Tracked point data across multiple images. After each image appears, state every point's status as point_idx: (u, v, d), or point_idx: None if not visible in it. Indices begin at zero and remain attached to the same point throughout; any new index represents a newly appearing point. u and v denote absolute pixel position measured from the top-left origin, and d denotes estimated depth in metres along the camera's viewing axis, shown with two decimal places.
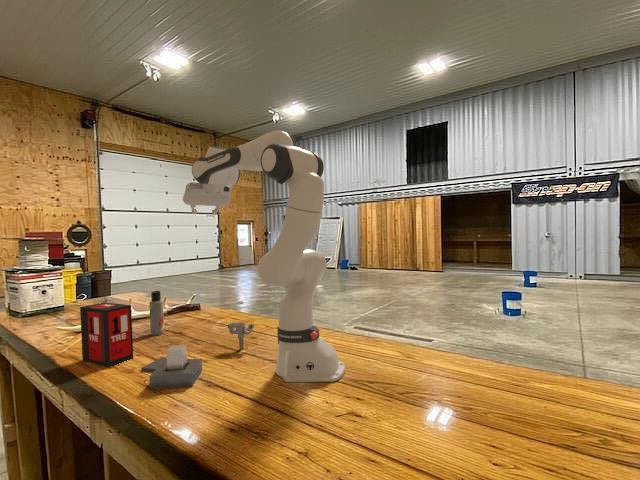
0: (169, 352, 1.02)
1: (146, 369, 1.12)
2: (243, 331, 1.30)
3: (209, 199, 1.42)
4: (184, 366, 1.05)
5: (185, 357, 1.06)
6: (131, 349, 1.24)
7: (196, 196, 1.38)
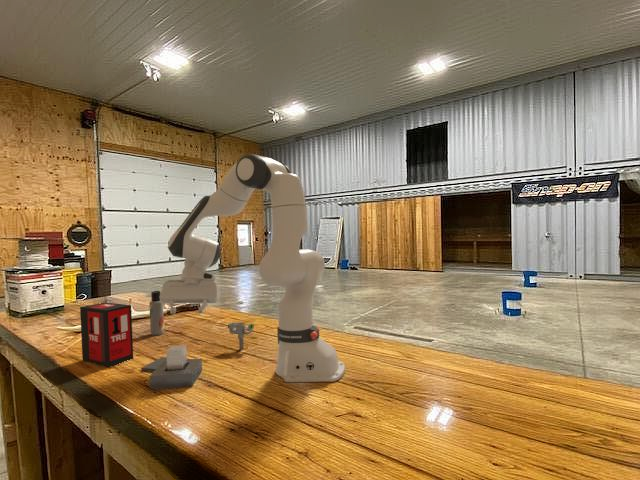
0: (169, 352, 1.02)
1: (146, 369, 1.12)
2: (243, 331, 1.30)
3: (189, 291, 1.22)
4: (184, 366, 1.05)
5: (185, 357, 1.06)
6: (131, 349, 1.24)
7: (173, 289, 1.22)
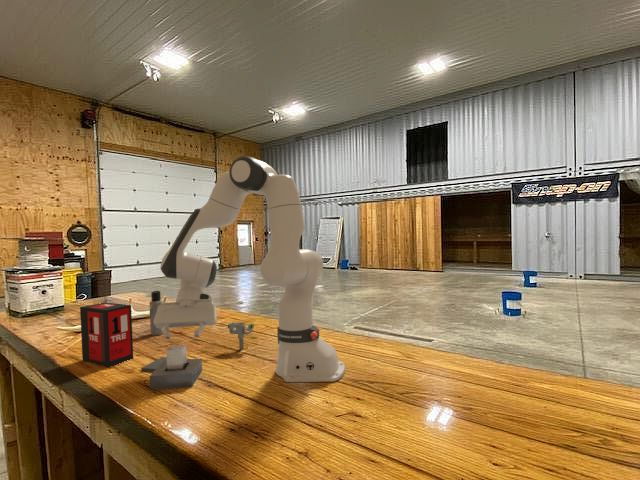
0: (169, 352, 1.02)
1: (146, 369, 1.12)
2: (243, 331, 1.30)
3: (184, 314, 1.14)
4: (184, 366, 1.05)
5: (185, 357, 1.06)
6: (131, 349, 1.24)
7: (167, 312, 1.15)
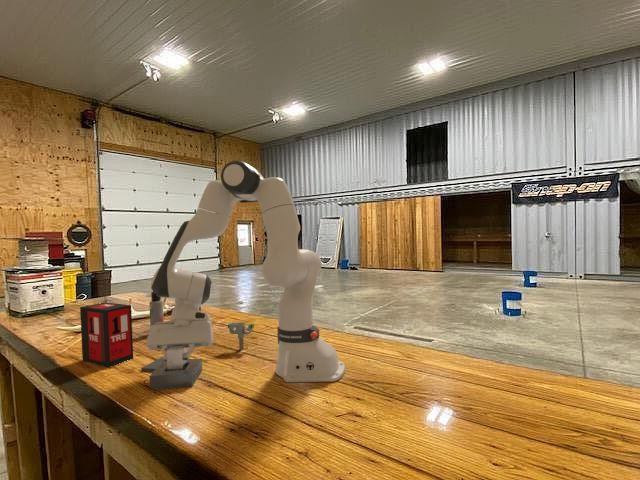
0: (169, 352, 1.02)
1: (146, 369, 1.12)
2: (243, 331, 1.30)
3: (179, 334, 1.08)
4: (184, 366, 1.05)
5: None
6: (131, 349, 1.24)
7: (161, 333, 1.08)
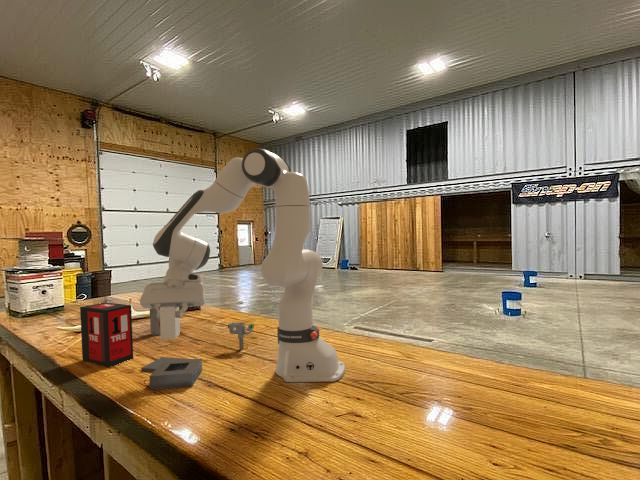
0: (162, 308, 1.05)
1: (146, 369, 1.12)
2: (243, 331, 1.30)
3: (172, 294, 1.11)
4: (177, 323, 1.08)
5: None
6: (131, 349, 1.24)
7: (155, 292, 1.11)
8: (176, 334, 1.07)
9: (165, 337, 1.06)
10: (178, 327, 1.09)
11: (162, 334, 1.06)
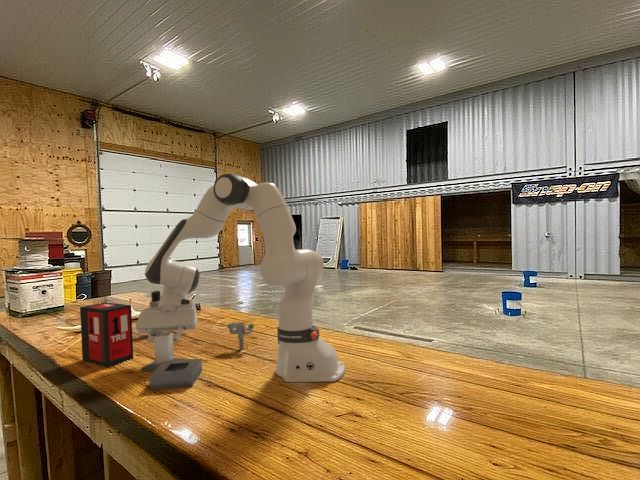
0: (157, 337, 1.14)
1: (146, 369, 1.12)
2: (243, 331, 1.30)
3: (165, 318, 1.19)
4: (170, 351, 1.16)
5: (171, 343, 1.18)
6: (131, 349, 1.24)
7: (149, 317, 1.20)
8: None
9: (159, 364, 1.14)
10: (172, 354, 1.17)
11: (156, 361, 1.14)
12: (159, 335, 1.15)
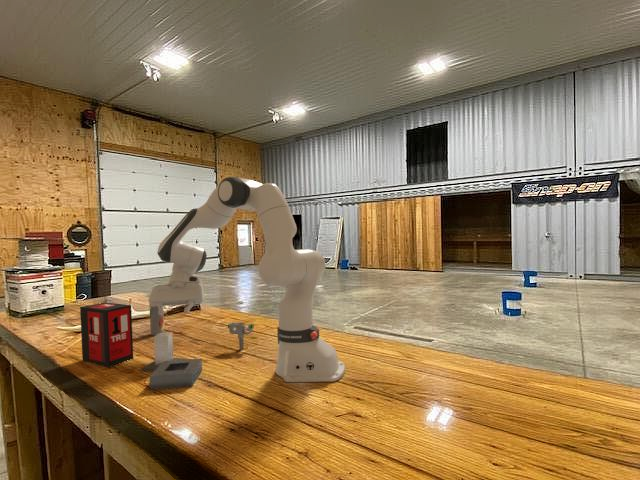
0: (157, 338, 1.14)
1: (146, 369, 1.12)
2: (243, 331, 1.30)
3: (175, 293, 1.31)
4: (170, 351, 1.16)
5: (171, 343, 1.18)
6: (131, 349, 1.24)
7: (161, 293, 1.31)
8: None
9: (159, 364, 1.14)
10: (172, 354, 1.17)
11: (156, 361, 1.14)
12: (159, 335, 1.15)
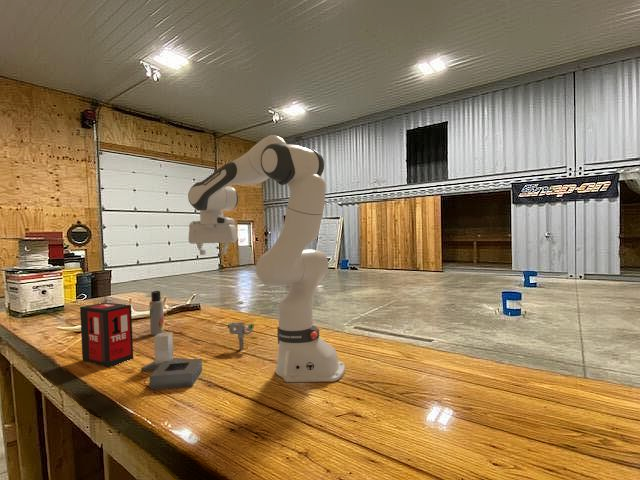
0: (157, 338, 1.14)
1: (146, 369, 1.12)
2: (243, 331, 1.30)
3: (209, 235, 1.34)
4: (170, 351, 1.16)
5: (171, 343, 1.18)
6: (131, 349, 1.24)
7: (197, 233, 1.35)
8: None
9: (159, 364, 1.14)
10: (172, 354, 1.17)
11: (156, 361, 1.14)
12: (159, 335, 1.15)
